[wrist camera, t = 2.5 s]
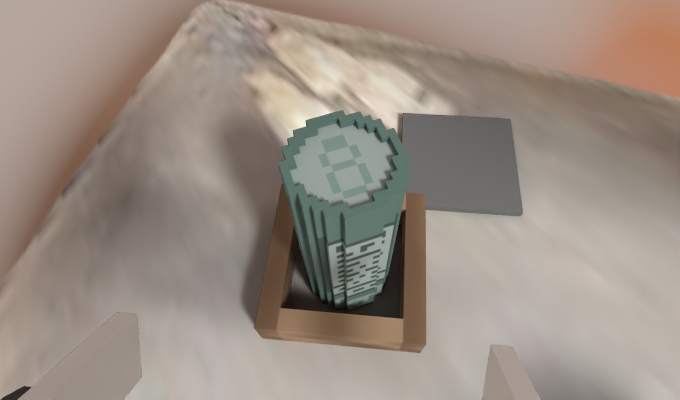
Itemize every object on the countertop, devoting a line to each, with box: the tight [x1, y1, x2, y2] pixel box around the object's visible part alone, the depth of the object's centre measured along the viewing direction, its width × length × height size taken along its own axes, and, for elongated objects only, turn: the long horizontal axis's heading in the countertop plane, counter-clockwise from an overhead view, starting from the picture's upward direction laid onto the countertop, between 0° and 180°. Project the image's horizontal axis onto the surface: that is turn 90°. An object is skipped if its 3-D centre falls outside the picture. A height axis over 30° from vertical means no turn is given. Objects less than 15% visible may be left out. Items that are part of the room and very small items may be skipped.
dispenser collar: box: [254, 184, 426, 353], centre depth 33 cm, size 11×11×3 cm
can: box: [278, 110, 410, 311], centre depth 27 cm, size 6×6×15 cm
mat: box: [402, 113, 523, 216], centre depth 38 cm, size 10×10×1 cm
